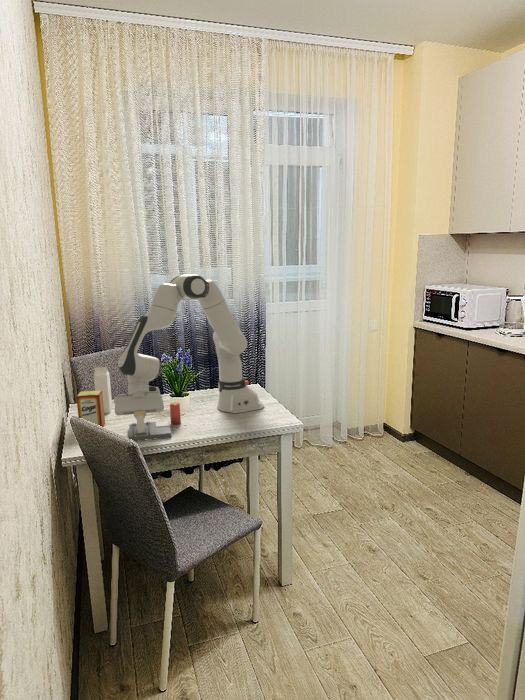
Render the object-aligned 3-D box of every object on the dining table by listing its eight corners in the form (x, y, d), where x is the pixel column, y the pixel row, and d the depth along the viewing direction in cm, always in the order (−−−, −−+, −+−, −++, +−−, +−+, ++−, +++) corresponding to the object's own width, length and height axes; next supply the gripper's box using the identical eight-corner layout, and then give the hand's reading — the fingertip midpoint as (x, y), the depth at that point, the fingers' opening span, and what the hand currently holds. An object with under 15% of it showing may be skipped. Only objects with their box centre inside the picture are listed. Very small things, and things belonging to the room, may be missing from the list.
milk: (110, 413, 237) (106, 368, 232) (97, 413, 236) (92, 369, 231) (112, 409, 242) (108, 365, 237) (100, 409, 242) (96, 365, 237)
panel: (169, 424, 220) (168, 419, 220) (171, 437, 206) (170, 431, 205) (129, 428, 216) (129, 422, 216) (129, 441, 202) (128, 435, 201)
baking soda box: (79, 430, 216) (76, 395, 212) (83, 424, 222) (80, 390, 218) (102, 429, 217) (98, 394, 213) (105, 423, 223) (102, 389, 219)
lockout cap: (180, 421, 224) (179, 402, 222) (181, 424, 220) (180, 405, 218) (170, 422, 223) (169, 403, 221) (171, 425, 219) (170, 406, 217)
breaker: (146, 430, 208) (145, 410, 206) (146, 434, 203) (145, 414, 201) (135, 431, 207) (134, 411, 205) (135, 436, 202) (134, 415, 200)
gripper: (112, 391, 208) (113, 421, 201) (162, 387, 213) (164, 416, 206) (114, 398, 213) (115, 427, 206) (162, 394, 218) (165, 422, 211)
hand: (140, 422), depth 206 cm, fingers closed, pressing on breaker
